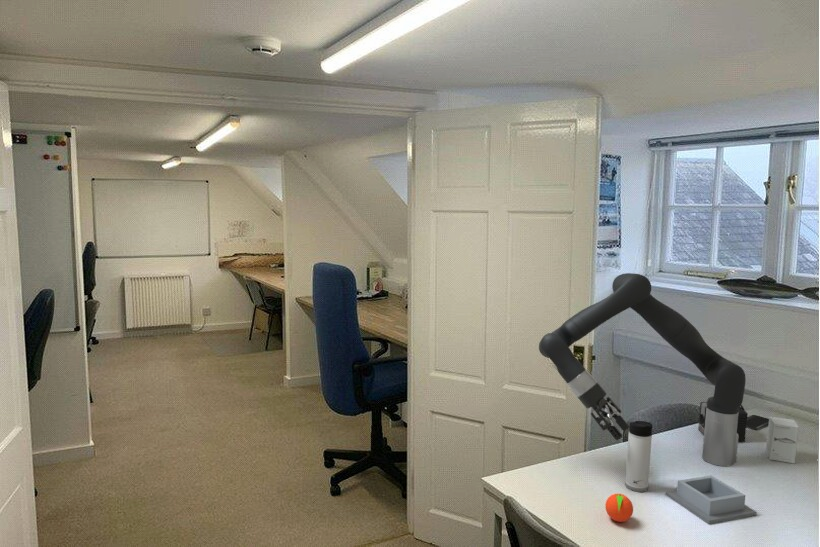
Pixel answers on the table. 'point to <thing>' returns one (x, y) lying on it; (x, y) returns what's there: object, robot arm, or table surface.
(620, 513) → the clementine
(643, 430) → the travel mug
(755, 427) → the phone
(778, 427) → the supplement box
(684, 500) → the mug dock
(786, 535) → the table surface
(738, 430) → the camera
